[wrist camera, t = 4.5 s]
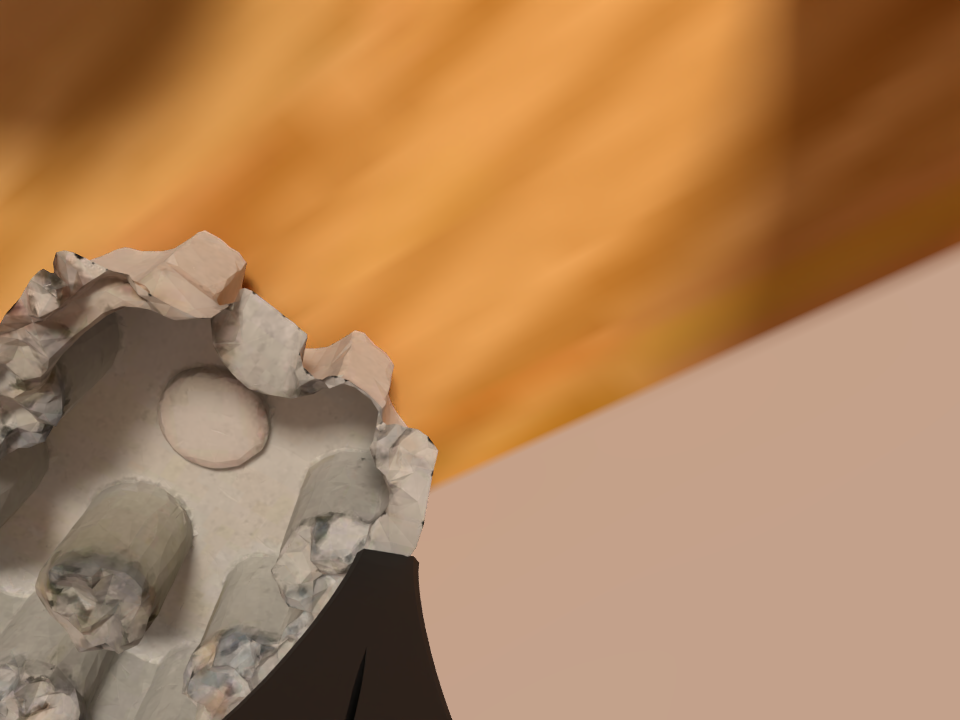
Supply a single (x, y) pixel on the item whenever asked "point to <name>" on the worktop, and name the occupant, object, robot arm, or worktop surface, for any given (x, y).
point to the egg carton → (181, 484)
